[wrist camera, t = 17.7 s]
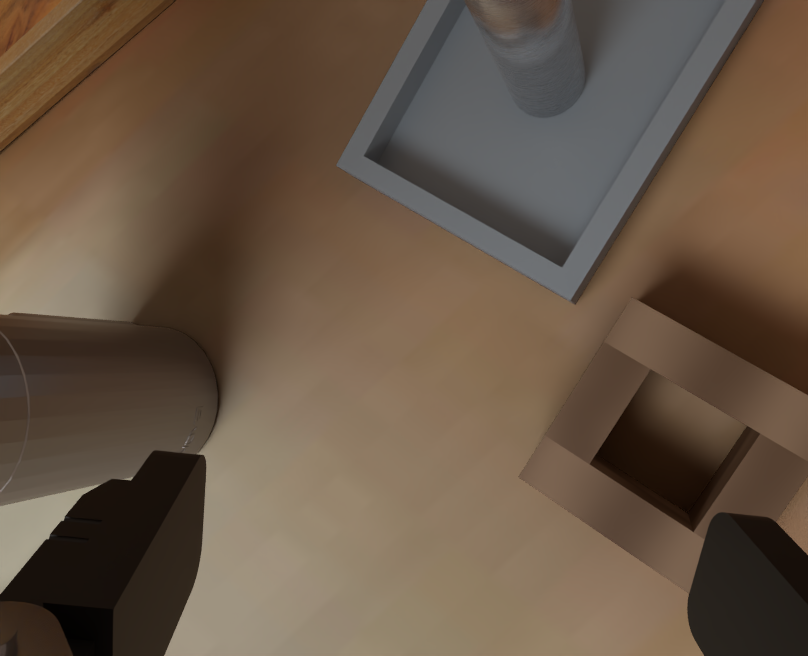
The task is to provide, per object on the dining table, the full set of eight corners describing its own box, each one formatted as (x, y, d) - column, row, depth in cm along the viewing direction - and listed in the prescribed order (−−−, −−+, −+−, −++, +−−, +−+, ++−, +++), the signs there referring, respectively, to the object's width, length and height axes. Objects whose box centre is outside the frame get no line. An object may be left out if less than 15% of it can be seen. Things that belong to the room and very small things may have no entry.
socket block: (530, 465, 37) (518, 477, 33) (633, 304, 36) (631, 297, 32) (706, 583, 34) (713, 610, 30) (824, 411, 33) (848, 417, 29)
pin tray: (353, 176, 41) (336, 165, 39) (521, -124, 39) (513, -156, 36) (575, 304, 37) (570, 300, 34) (780, -27, 34) (791, -56, 32)
